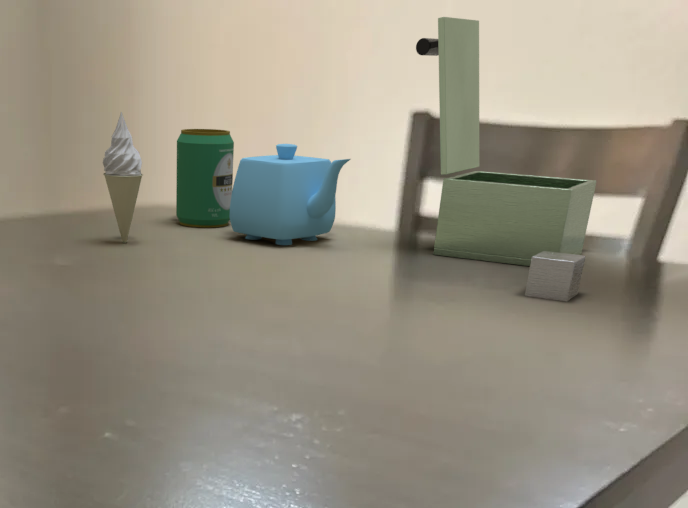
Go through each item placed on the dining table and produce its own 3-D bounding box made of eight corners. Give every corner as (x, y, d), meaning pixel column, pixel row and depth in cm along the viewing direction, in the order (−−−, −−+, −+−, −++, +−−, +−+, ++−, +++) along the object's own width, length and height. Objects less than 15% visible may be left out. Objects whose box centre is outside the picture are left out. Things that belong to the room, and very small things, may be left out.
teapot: (313, 255, 122) (320, 153, 116) (209, 236, 132) (211, 141, 126) (370, 244, 129) (380, 148, 123) (268, 227, 140) (272, 137, 134)
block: (576, 299, 103) (585, 255, 101) (565, 307, 100) (575, 261, 97) (534, 293, 105) (543, 250, 103) (523, 301, 102) (531, 256, 99)
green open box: (581, 254, 126) (596, 180, 122) (556, 269, 117) (571, 189, 113) (465, 241, 133) (476, 170, 129) (432, 254, 124) (443, 178, 119)
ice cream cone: (128, 238, 129) (126, 110, 121) (151, 243, 126) (150, 112, 118) (97, 241, 126) (92, 110, 119) (119, 247, 123) (116, 112, 115)
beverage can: (212, 229, 137) (215, 134, 130) (165, 224, 140) (165, 130, 134) (241, 223, 142) (244, 131, 136) (195, 217, 146) (196, 127, 140)
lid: (479, 20, 121) (440, 28, 124) (444, 16, 112) (403, 25, 114) (479, 166, 128) (442, 170, 131) (446, 174, 119) (408, 178, 121)
